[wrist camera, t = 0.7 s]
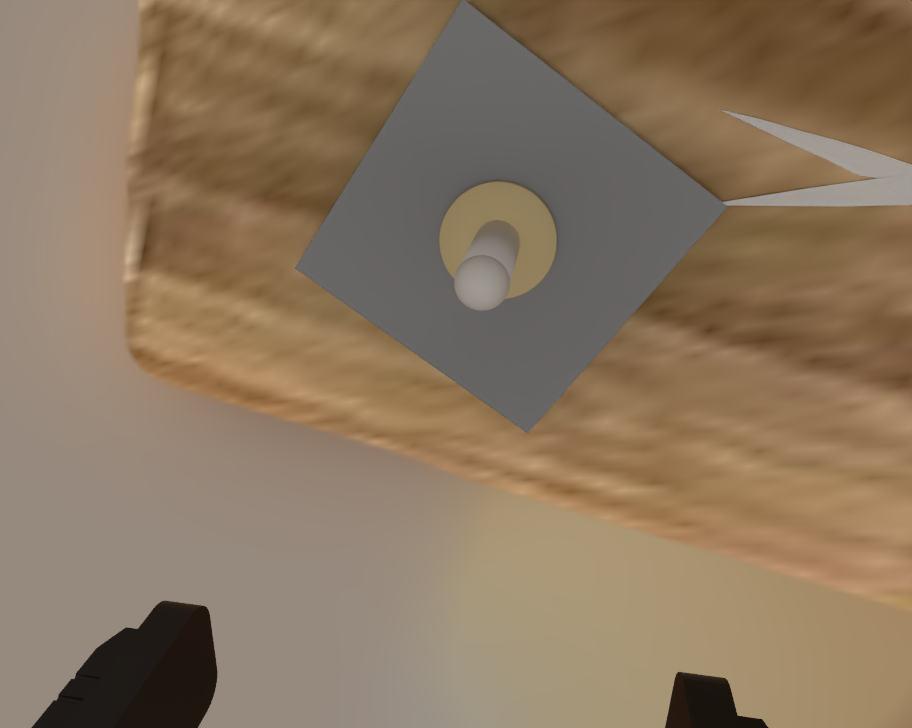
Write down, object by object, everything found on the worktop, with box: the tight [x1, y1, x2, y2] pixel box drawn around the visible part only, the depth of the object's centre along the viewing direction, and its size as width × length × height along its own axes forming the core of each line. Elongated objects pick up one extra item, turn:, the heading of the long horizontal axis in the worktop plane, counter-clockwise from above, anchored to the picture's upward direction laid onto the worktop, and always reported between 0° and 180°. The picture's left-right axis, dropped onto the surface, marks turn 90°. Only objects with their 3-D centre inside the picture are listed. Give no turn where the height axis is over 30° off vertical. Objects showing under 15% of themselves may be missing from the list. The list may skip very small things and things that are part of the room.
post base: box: [295, 0, 728, 433], centre depth 29 cm, size 14×14×10 cm
